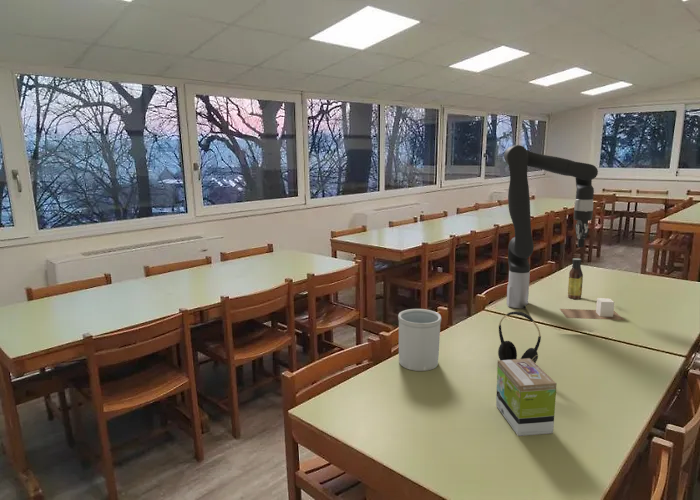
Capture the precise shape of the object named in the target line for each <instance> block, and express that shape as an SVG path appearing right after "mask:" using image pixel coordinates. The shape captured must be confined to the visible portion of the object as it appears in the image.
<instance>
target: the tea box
mask: <svg viewBox="0 0 700 500" xmlns="http://www.w3.org/2000/svg"><path fill="white" fill-rule="evenodd" d="M496 365H497V367H496V371H497V374H496V395H495V396H496V397H495V405H496V407H497V409H498V410H499V411H500V413H501V415H502V416H503V417H504V418H505V420H506V421H507V423H508V424H509V425H510V427H511V428H512V430H513V432H515V433H516V435H517V436H518V437H521V436H522V437H523V436H534V435H535V436H537V435H538V436H539V435H548V434H553V433H554V427H555V413H556V412H555V410H556V398H557V382H556V381H555V380H553V378H551V377H550V376H549V374H547V373H546V372H545V370H543V369H542V368H541V367H540V366H539V365H538V364H537V363H534V362H533V361H532V360H531V359H530V358H526V359H521V358H517V359H513V360H500V359H498V360H497V364H496Z"/></svg>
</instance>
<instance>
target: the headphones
mask: <svg viewBox="0 0 700 500" xmlns="http://www.w3.org/2000/svg"><path fill="white" fill-rule="evenodd" d="M511 315H513V316H514V315H516V316H521V317H524V318H526V319H527V320H529V321H530V322H532V323H533V324H534V325H535V327H536V329H537V332H538V337H537V341H536V344H535V346H534V347H529V348H527V349H526V351H524V353H523V354H522V355H521V358H520V359H526V358H530V359H531V360H532V361H533V362H534V363H535V364H537V361H538V359H539V353H538V349H539V346H540V344H541V341H542V339H541V338H542V335H541V330H540V328H539V326H538V325H537V323H536V322H535V320H534V319H533V318H532V317H531V316H530V315H528V314H527V313H525V312H522V311H516V310H515V311H510V312H508V313H506V314H505V315H504V316H502V318H501V319H500V320H499V324H498V335H499V340H500V344H499V346H498V350H497V355H498V360H499V361H500V360H513V359H518V358H517V357H518V352H517V348H516V346H515V344H514V343H513V342H512V341H510V340H505V339H504V336H503V332H502V322H503V320H504V319H505V318H506V317H507V316H511Z"/></svg>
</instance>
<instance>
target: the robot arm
mask: <svg viewBox="0 0 700 500" xmlns="http://www.w3.org/2000/svg"><path fill="white" fill-rule="evenodd" d="M503 158H504V161H505V162H506V164H508V169H509V185H508V193H507V200H508V201H507V203H508V204H507V205H508V212H509V216H510V219H511V223H512V224H513V228H514V230H513V231H514V237H512V238H511V240H509V242H508V247H507V248H508V249H507V263H508V283H507V286H506V305H507V307H508V308H514V309H526V308H527V307H526V306H527V305H529V292H530V291H529V289H530V273H531V266H530V263H529V259H528V258H530V257H531V256H532V255H533V253H534V247H535V245H534V240H533V235H532V223H531V222H532V221H531V200H530V198H531V197H530V188H529V181H528V179H529V178H528V167H531V168H536V169H540V170H542V171H546V172H549V173H552V174H553V173H554V174H557V175H561V176H565V177H566V176H567V177H572V178H575V186H576V191H575V192H576V193H575V201H574V206H573V207H574V208H573V220H575V221H576V224H575V225H574V229H575V234H576V235H575V236H576V237H577V248H584V246H585V240H586V239H587V238H588V235H589V232H590V228H589V223H588V221H592V220H593V212H594V193H595V188H594V187H593V184H592V182H593V181H592V180H594V179H596V177H597V176H598V174H599V171H598V167H596V166H595V165H594V164H592V163H586V162H585V163H584V162H580V161H574V160H571V159H567V158H563V157H560V156H553V155H548V154H542V153H541V154H540V153H536V152H533V151H530V150H527V148H525V147H524V146H523V145H519V144H515V145H514V144H513V145H510V146H509V147H507V148H506V149H505V151H504V153H503Z"/></svg>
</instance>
